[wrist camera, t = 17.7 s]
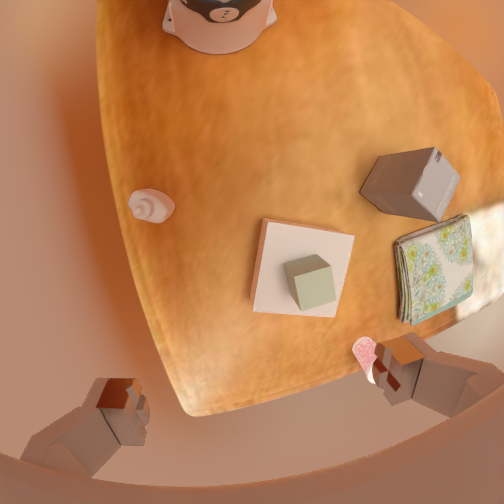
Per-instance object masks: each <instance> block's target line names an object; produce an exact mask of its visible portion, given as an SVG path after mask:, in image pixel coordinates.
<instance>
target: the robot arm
mask: <svg viewBox="0 0 504 504" xmlns="http://www.w3.org/2000/svg"><path fill="white" fill-rule="evenodd" d="M272 3H273V0H169V2H168V6H167V9H166V13H165V16H164V20H163V24H162V27H163V30H164V31H165V32H167V33H169V34H172V35H175V36H177V37H179V38H180V39H181V40H182V41H183V42H184V43H185V44H186V45H188V46H189V47H191V48H193V49H195V50H197V51H200V52H203V53H208V54H227V53H232V52H236V51H239V50H241V49H243V48H245V47H247V46H249V45H250V44H252V43H253V42H254V41H255V40H256V39H257V38H258V37H259V35H260V34H261V32H262V31H263V30H264V29H266V28H268V27H270V26H271V25H273V24H274V23H275V22H276V20H277V16H276V13H275V11H274V9H273V7H272ZM169 20H171V21H169ZM374 354H375V355H376V356H377V358H376V359H375V361H374V362H373V365H372V375H373V379H374V381H375V383H376V385H377V386H378V387H380V388H383V389H385V390H384V396H385V397H386V398H387V400H388V401H389V402H390V404H391V405H395V404H398V403H401V402H404V401H406V400H409V399H412V400H414V401H416V402H418V403H420V404H422V405H424V406H426V407H429V408H430V409H433V410H435V411H437V412H439V413H441V414H443V415H445V416H448V417H450V419H448V420H446V421H444V422H442V423H440V424H439V425H437V426H435V427H433V428H431V429H429V430H427V431H425V432H423V433H420V434H418V435H416V436H414V437H412V438H410V439H407V440H405V441H403V442H401V443H398V444H396V445H393V446H391V447H388V448H386V449H383V450H381V451H378V452H375V453H373V454H370V455H367V456H364V457H361V458H358V459H355V460H352V461H349V462H345V463H342V464H339V465H336V466H332V467H328V468H324V469H320V470H317V471H313V472H308V473H304V474H299V475H295V476H289V477H284V478H279V479H272V480H266V481H260V482H251V483H243V484H233V485H220V486H199V487H168V486H148V485H134V484H125V483H117V482H110V481H103V480H97V479H92V476H93V475H94V474H95V473H96V472H97V471H98V470H99V469H100V468H101V467H102V466H103V465H104V464H105V463H106V462H107V460H109V459H110V458H111V457H112V455H113V454H114V453H115V452H116V451H117V450H118V449H119V448H120V447H121V446H120V445H125V446H144V442H145V438H146V433H147V432H146V430H145V428H144V426H145V425H146V424H148V423H149V418H150V410H149V405H148V402H147V399H146V397H145V396H144V395H142V394H141V390H142V386H141V384H140V382H139V380H138V379H136V378H97V379H95V381H94V383H93V385H92V387H91V389H90V391H89V393H88V395H87V397H86V399H85V401H84V403H83V405H82V407H77V408H75V409H74V410H72V411H71V412H69V413H68V414H66V415H64V416H63V417H61V418H60V419H58V420H57V421H55V422H54V423H52V424H50V425H49V426H47V427H46V428H44V429H43V430H41V431H39V432H38V433H36V434H35V435H33V436H32V437H31V439H30V440H29V442H28V444H27V446H26V448H25V450H24V452H23V454H22V456H21V458H20V460H19V459H16V458H13V457H11V456H8V455H6V454H3V453H0V504H504V373H503V372H502V371H501V370H499V369H498V368H497V367H496V366H494V365H493V364H491V363H487V362H482V361H477V360H473V359H469V358H465V357H461V356H457V355H452V354H448V353H444V352H438V353H437V352H436V351H435V350H434V349H433V348H431V347H430V346H429V345H428V344H427V343H426V342H425V341H423V340H422V339H421V338H420V337H419V336H417V335H416V334H415V333H412V332H411V333H408V334H405V335H402V336H400V337H397V338H394V339H391V340H387V341H384V342H380V343H377V344H376V347H375V351H374Z"/></svg>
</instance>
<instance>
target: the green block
mask: <svg viewBox="0 0 504 504" xmlns="http://www.w3.org/2000/svg"><path fill="white" fill-rule="evenodd" d="M284 268H285V272H286V277H287V281H288V286H289V291H290V295H291V296H292V298H293V299H294V301H295V303H296V304H297V306H298V307H299V309H300V311H305V310H308V309H311V308H314V307H317V306H321V305H324V304H327V303H330V302H333V301H336V293H335V287H334V280H333V273H332V267H331V265H330V264H328V263H327V262H326V261H325V260H323V259H322V258H321V257H320V256H318V255H317V254H314V255H310V256H307V257H303V258H300V259H296V260H292V261H289V262H285V263H284Z"/></svg>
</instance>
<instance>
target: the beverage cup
mask: <svg viewBox="0 0 504 504" xmlns="http://www.w3.org/2000/svg"><path fill="white" fill-rule="evenodd" d="M375 347H376V343H375V342H374V341H373V340H372V339H370V338H369V337H361V338H360V339H358V340H357V341H356V342H355V343H354V345H353V349H352V351H353V353H354V355H355V357H356V358H357V360H358V361H359V363H360V365H361V366H362V368H363V370H364V371H365V373H366V376H367V379H368V380H369V381H370V382H371V383H374V384H376V383H375V381H374V379H373V375H372V365H373V362H374V361H375V359H376V358H377V356H376V355H375V354H374V351H375Z"/></svg>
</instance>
